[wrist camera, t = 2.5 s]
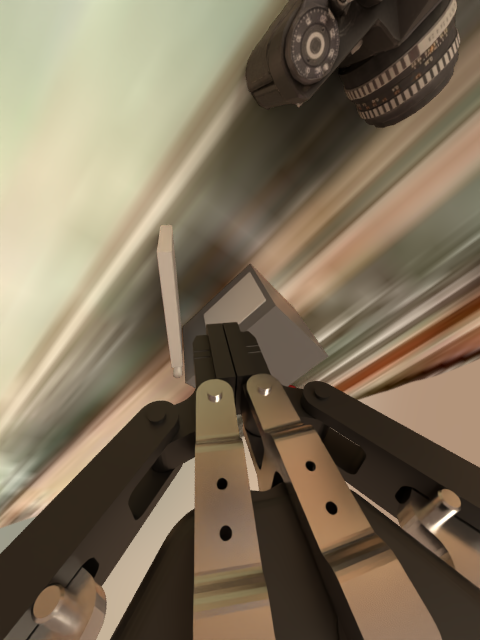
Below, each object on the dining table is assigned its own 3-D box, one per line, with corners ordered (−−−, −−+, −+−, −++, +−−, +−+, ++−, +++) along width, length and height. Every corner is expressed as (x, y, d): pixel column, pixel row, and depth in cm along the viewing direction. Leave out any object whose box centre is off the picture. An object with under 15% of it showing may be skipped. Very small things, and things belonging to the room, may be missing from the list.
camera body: (295, 309, 34) (331, 360, 26) (222, 369, 37) (235, 430, 29) (249, 262, 29) (277, 308, 21) (171, 336, 32) (170, 399, 24)
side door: (172, 223, 25) (171, 254, 18) (181, 327, 31) (183, 377, 25) (159, 223, 24) (154, 254, 18) (171, 328, 31) (171, 378, 25)
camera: (311, 179, 26) (374, 198, 17) (229, 69, 20) (267, 22, 12) (445, 34, 21) (609, -29, 13) (390, -158, 16) (615, -466, 8)
